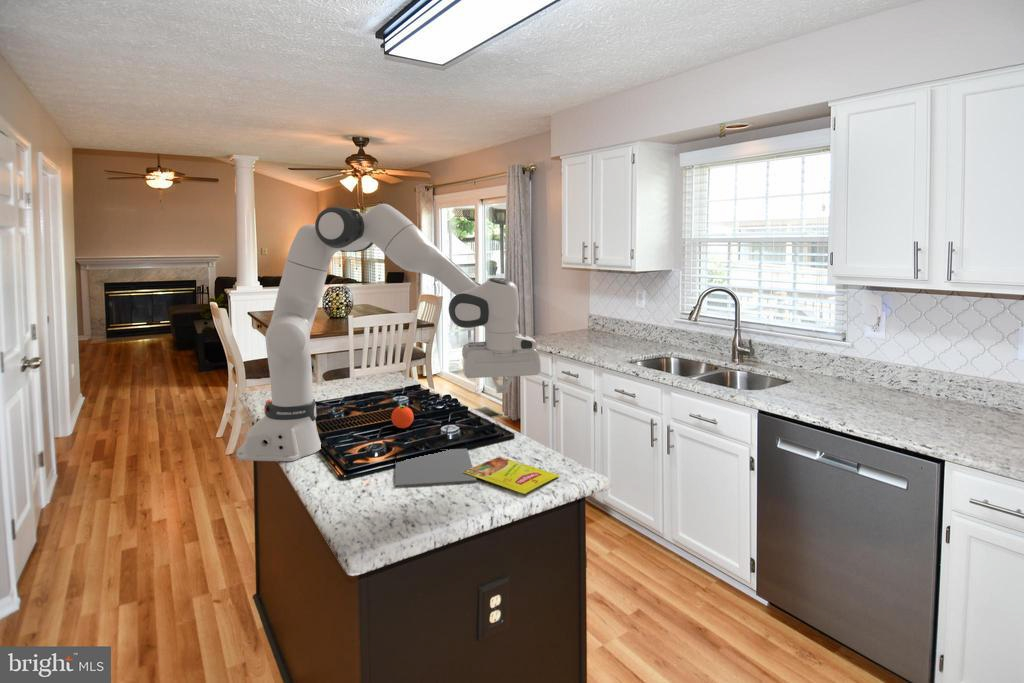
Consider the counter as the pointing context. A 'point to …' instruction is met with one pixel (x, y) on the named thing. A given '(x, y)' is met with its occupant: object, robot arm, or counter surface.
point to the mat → (435, 469)
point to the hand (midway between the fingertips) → (501, 392)
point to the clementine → (402, 417)
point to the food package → (511, 474)
